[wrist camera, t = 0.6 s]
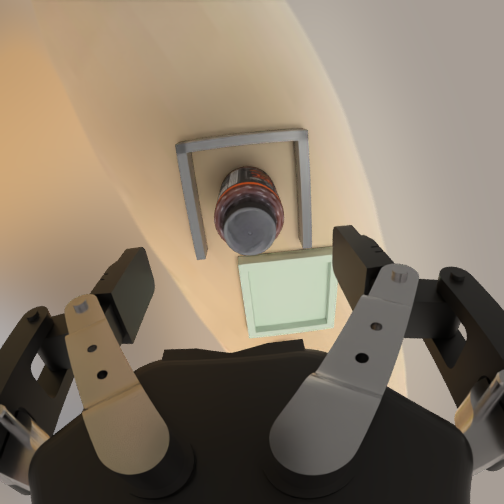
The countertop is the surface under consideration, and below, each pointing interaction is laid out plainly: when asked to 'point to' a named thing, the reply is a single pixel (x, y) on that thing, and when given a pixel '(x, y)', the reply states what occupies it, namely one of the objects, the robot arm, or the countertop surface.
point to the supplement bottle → (248, 211)
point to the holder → (236, 140)
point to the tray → (288, 291)
